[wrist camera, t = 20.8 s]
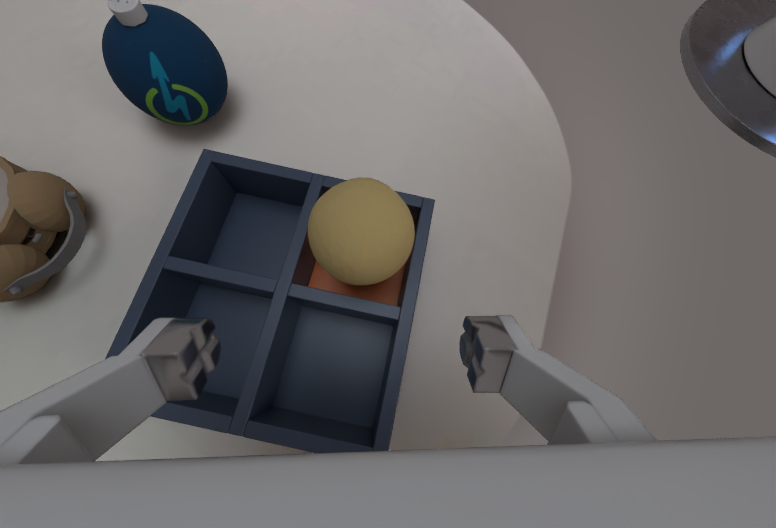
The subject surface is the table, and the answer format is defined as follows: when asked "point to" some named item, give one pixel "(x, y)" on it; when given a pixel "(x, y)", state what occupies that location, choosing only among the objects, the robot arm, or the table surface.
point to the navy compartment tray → (279, 312)
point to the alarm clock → (35, 228)
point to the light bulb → (361, 231)
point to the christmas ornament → (163, 63)
